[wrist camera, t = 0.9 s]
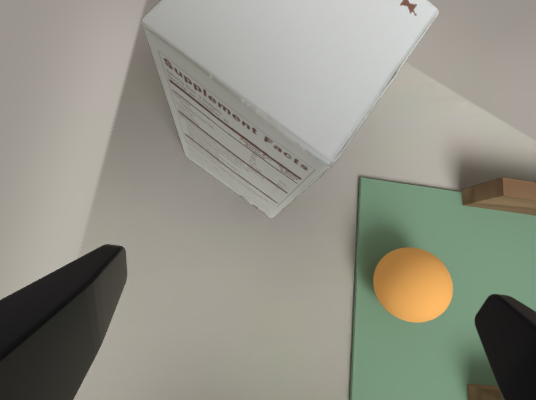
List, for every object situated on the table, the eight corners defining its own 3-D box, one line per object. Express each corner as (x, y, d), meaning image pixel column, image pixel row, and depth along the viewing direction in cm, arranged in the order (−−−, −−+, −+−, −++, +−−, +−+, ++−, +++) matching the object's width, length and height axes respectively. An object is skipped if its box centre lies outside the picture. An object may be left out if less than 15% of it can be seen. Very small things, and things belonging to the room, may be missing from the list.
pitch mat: (596, 414, 22) (601, 416, 22) (349, 400, 20) (351, 402, 20) (575, 210, 25) (579, 209, 25) (359, 178, 23) (361, 177, 23)
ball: (422, 318, 21) (473, 332, 17) (359, 313, 21) (396, 325, 16) (422, 252, 22) (470, 250, 18) (362, 245, 22) (397, 241, 17)
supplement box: (247, 82, 23) (279, -123, 11) (328, 143, 23) (451, 8, 11) (181, 157, 21) (130, 13, 9) (269, 223, 21) (337, 170, 9)
